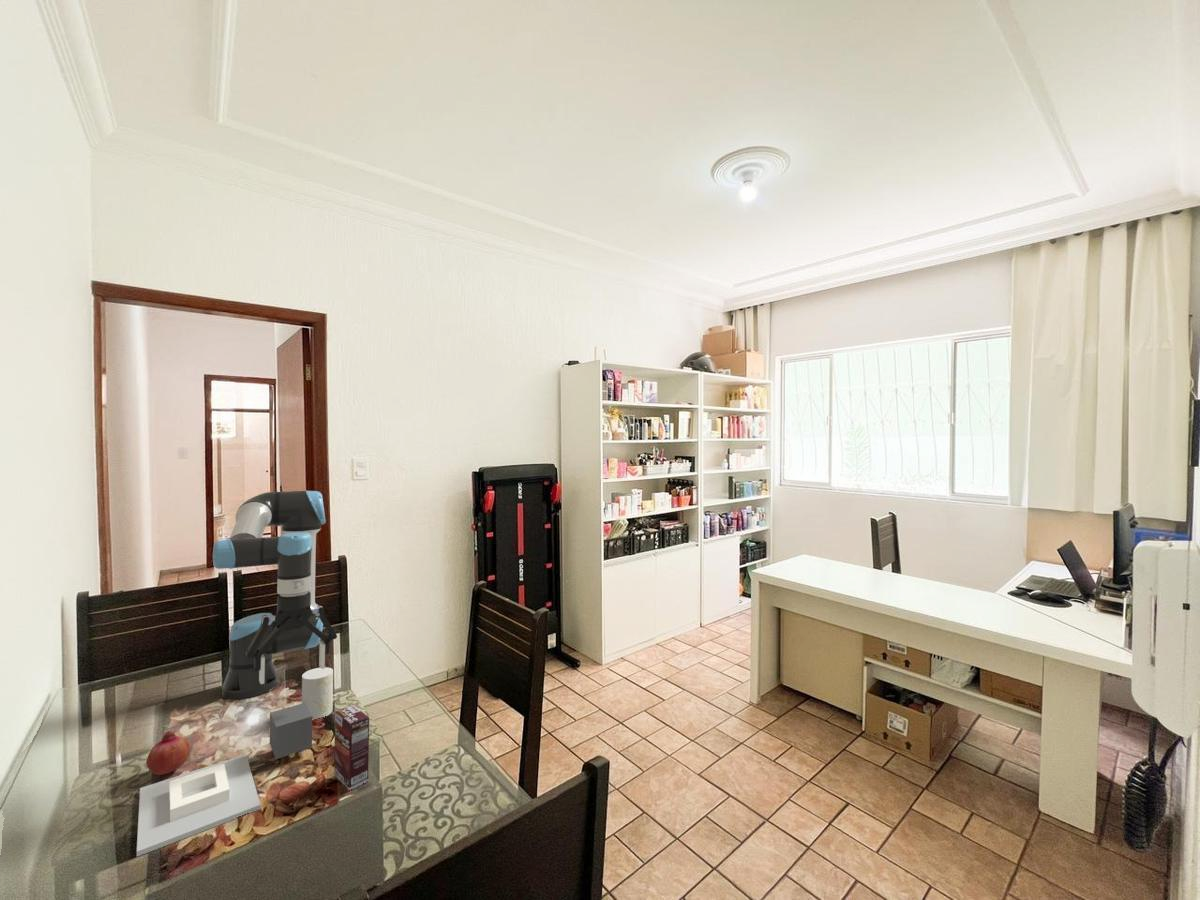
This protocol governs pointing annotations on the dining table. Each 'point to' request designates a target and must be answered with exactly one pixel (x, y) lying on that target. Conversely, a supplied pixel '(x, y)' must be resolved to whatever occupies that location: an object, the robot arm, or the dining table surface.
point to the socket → (194, 803)
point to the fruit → (168, 754)
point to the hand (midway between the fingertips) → (292, 674)
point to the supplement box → (351, 747)
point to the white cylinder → (318, 691)
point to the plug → (290, 730)
